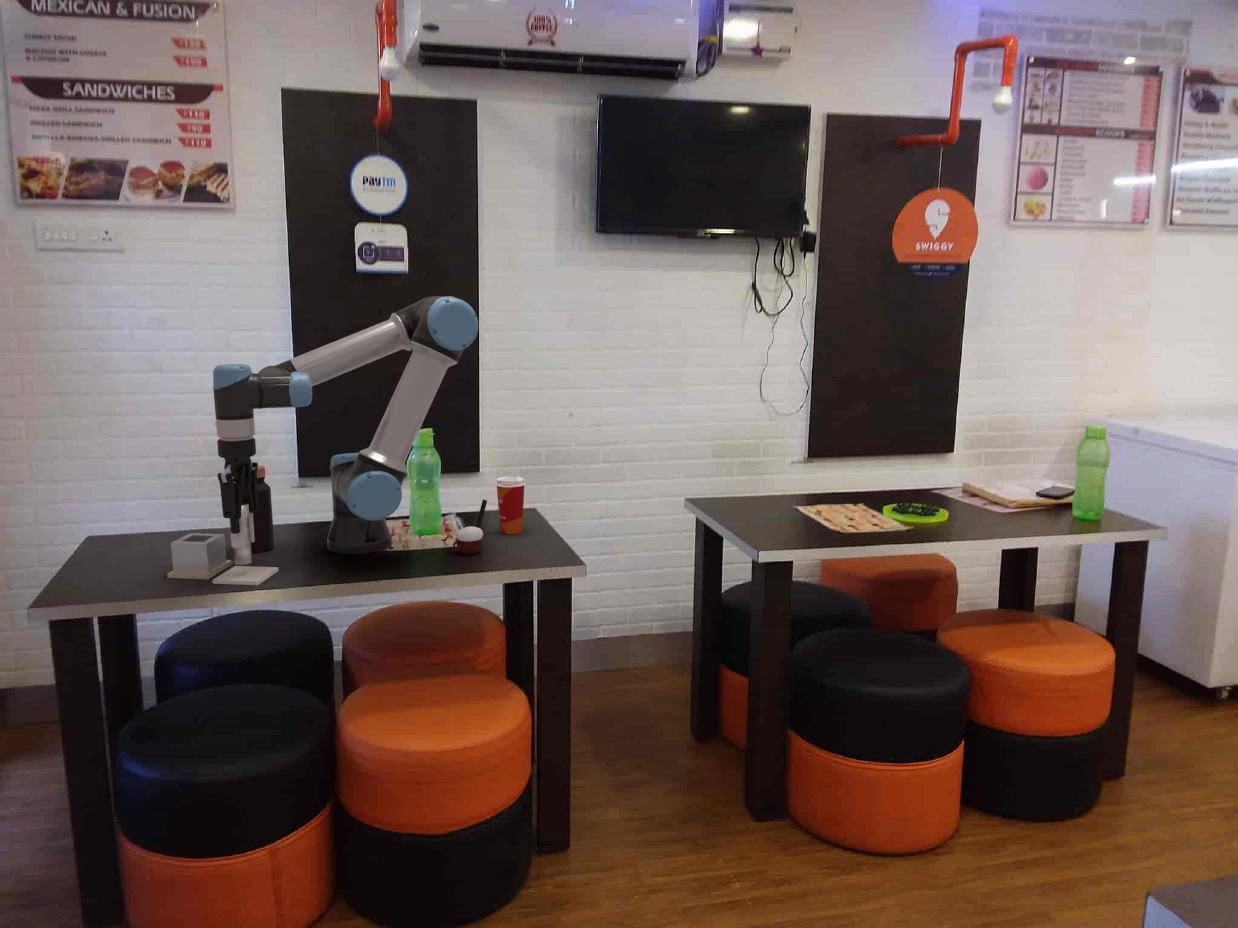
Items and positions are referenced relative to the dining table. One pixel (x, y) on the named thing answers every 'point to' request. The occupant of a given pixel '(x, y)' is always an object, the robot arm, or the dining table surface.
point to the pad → (245, 575)
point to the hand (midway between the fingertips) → (243, 544)
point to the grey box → (198, 556)
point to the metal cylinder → (245, 554)
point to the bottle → (263, 516)
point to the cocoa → (471, 535)
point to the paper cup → (510, 504)
